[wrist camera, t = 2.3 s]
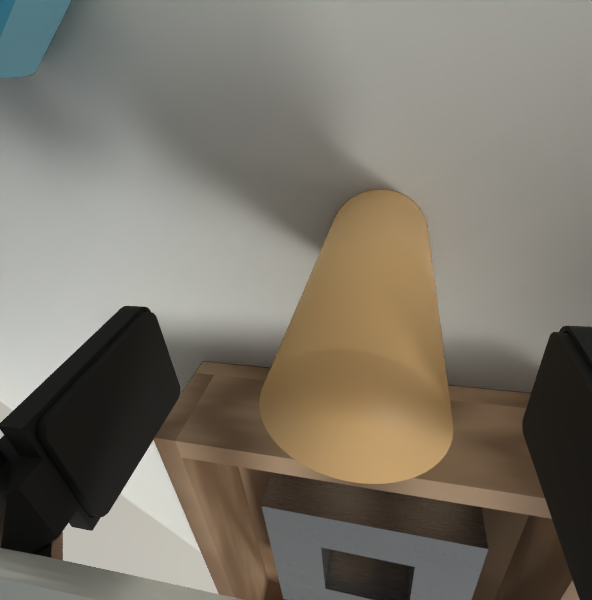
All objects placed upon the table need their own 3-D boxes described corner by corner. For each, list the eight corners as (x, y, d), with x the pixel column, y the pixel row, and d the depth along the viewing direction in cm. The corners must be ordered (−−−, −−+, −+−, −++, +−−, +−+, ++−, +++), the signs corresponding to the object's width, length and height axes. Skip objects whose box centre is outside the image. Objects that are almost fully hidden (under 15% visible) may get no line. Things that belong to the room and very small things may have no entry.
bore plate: (479, 493, 22) (488, 549, 19) (452, 590, 28) (457, 641, 26) (275, 460, 25) (261, 506, 22) (293, 555, 31) (283, 598, 28)
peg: (433, 188, 15) (467, 359, 7) (424, 280, 17) (441, 496, 9) (329, 190, 16) (246, 341, 8) (332, 276, 18) (271, 468, 10)
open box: (593, 399, 18) (655, 515, 13) (492, 626, 32) (507, 722, 27) (202, 361, 23) (152, 437, 18) (261, 572, 36) (240, 646, 32)
